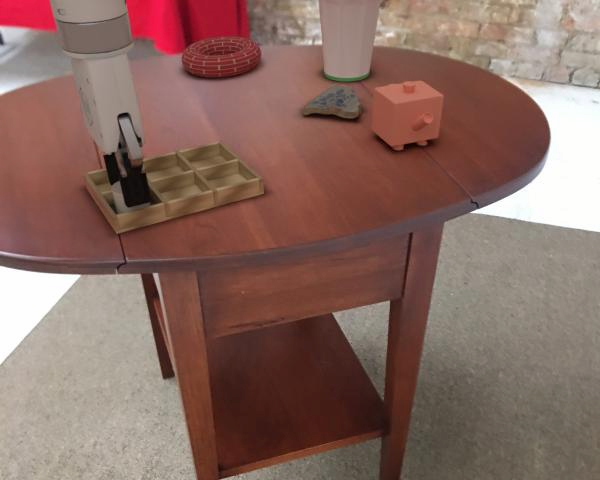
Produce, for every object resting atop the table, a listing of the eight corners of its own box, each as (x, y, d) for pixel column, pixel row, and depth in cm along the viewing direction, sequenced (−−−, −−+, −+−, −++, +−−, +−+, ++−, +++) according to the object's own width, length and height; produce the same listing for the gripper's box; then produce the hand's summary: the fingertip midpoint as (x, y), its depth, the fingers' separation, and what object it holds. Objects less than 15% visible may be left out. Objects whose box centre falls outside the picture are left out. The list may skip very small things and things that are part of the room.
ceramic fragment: (355, 115, 99) (299, 96, 101) (351, 134, 101) (297, 115, 104) (381, 92, 105) (328, 74, 108) (378, 110, 108) (325, 93, 110)
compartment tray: (116, 234, 78) (112, 217, 77) (86, 188, 87) (82, 173, 85) (264, 193, 85) (263, 178, 83) (222, 155, 94) (221, 140, 92)
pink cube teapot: (400, 162, 91) (406, 102, 85) (365, 131, 99) (368, 74, 93) (448, 153, 93) (457, 94, 87) (409, 123, 101) (415, 67, 95)
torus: (230, 49, 129) (228, 29, 126) (278, 64, 122) (277, 44, 119) (167, 68, 121) (163, 47, 118) (213, 86, 114) (211, 65, 111)
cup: (393, 71, 118) (401, -26, 107) (354, 91, 111) (358, -11, 100) (339, 58, 123) (341, -36, 112) (299, 76, 117) (297, -22, 106)
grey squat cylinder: (122, 221, 79) (117, 197, 77) (112, 206, 82) (106, 183, 80) (156, 212, 81) (151, 189, 78) (144, 198, 83) (140, 175, 81)
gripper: (41, 19, 71) (83, 173, 84) (81, 62, 60) (122, 232, 73) (106, 9, 73) (137, 161, 86) (156, 49, 63) (183, 215, 76)
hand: (130, 192), depth 80 cm, fingers open, 5 cm apart
